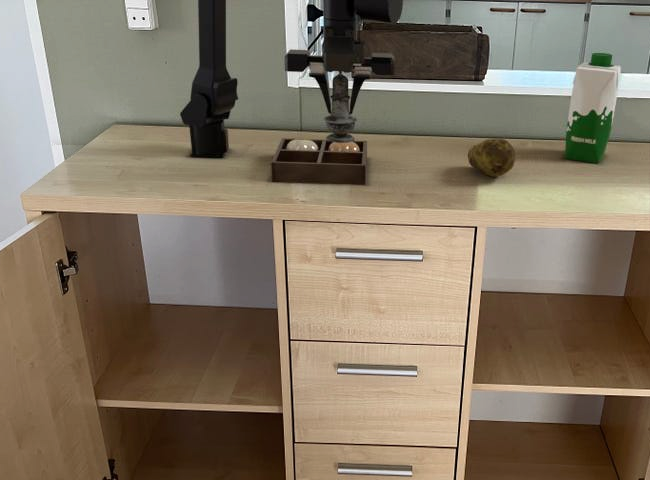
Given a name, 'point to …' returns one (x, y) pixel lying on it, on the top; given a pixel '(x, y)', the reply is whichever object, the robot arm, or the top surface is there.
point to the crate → (319, 164)
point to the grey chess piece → (340, 112)
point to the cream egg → (302, 145)
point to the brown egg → (344, 147)
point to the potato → (492, 157)
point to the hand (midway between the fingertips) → (340, 113)
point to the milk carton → (592, 108)
